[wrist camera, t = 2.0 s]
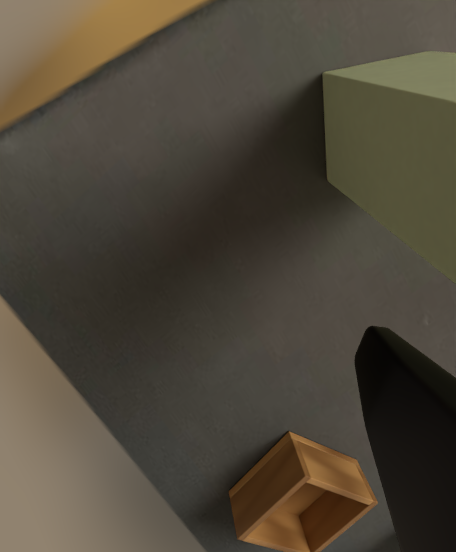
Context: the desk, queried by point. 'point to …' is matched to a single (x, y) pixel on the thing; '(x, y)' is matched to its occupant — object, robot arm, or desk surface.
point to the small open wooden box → (299, 497)
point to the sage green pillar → (398, 147)
